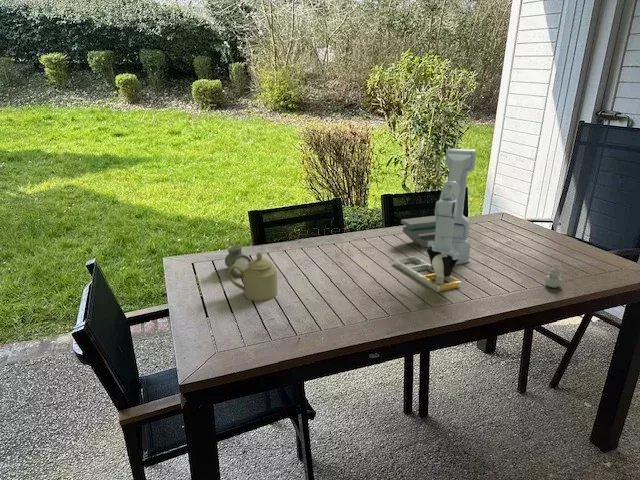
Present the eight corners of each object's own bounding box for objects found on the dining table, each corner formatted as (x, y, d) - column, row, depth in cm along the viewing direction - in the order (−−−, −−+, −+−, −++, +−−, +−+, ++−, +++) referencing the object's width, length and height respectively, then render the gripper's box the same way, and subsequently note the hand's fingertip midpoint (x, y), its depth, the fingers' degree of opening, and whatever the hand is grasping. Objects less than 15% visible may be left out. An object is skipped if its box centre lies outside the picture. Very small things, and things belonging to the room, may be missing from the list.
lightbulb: (449, 288, 151) (452, 258, 148) (430, 287, 153) (432, 257, 149) (448, 281, 157) (451, 252, 154) (429, 279, 159) (432, 250, 155)
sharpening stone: (448, 236, 204) (450, 213, 200) (458, 242, 197) (461, 218, 193) (399, 243, 196) (401, 219, 193) (408, 249, 189) (410, 224, 186)
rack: (414, 260, 176) (415, 255, 176) (460, 287, 152) (461, 281, 152) (393, 264, 173) (393, 259, 172) (437, 292, 149) (437, 286, 148)
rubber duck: (539, 285, 153) (543, 264, 150) (550, 281, 156) (554, 260, 154) (555, 291, 148) (559, 269, 146) (566, 286, 152) (570, 264, 149)
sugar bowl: (241, 307, 140) (238, 263, 135) (228, 294, 149) (225, 252, 144) (283, 296, 148) (281, 253, 143) (269, 284, 157) (266, 244, 152)
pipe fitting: (254, 273, 165) (249, 247, 162) (234, 279, 161) (228, 253, 158) (243, 266, 175) (238, 241, 172) (224, 272, 171) (218, 247, 169)
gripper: (421, 230, 154) (418, 266, 158) (448, 243, 141) (444, 282, 146) (438, 228, 157) (435, 263, 161) (465, 240, 144) (462, 278, 148)
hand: (440, 272), depth 154 cm, fingers closed on lightbulb, 6 cm apart
